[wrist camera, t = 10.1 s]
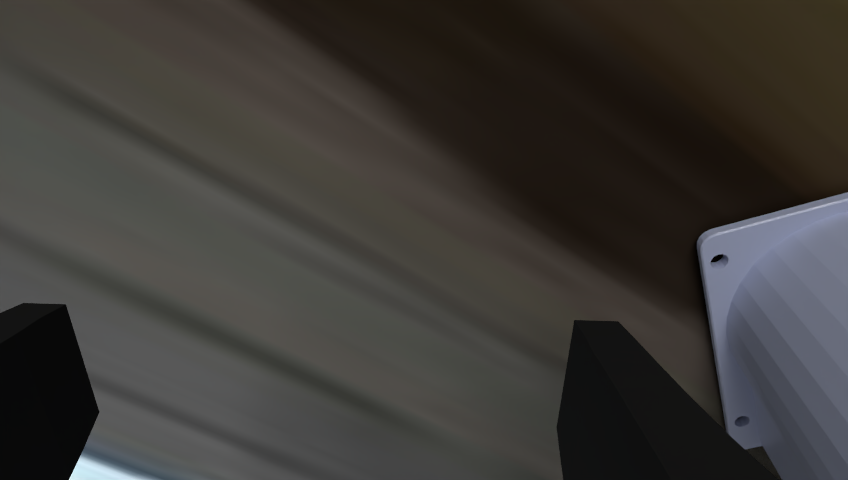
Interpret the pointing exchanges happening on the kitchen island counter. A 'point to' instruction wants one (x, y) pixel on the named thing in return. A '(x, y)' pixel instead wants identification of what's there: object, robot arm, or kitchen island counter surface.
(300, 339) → the kitchen island counter surface
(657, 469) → the robot arm
